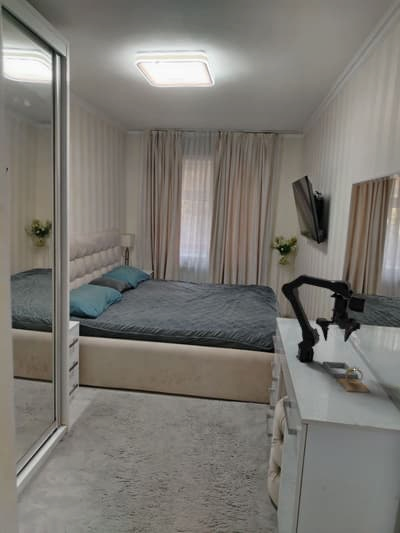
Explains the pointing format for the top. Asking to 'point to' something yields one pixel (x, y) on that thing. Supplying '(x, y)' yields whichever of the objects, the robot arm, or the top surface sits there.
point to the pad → (353, 386)
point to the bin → (339, 375)
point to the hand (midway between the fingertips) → (335, 341)
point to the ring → (351, 371)
